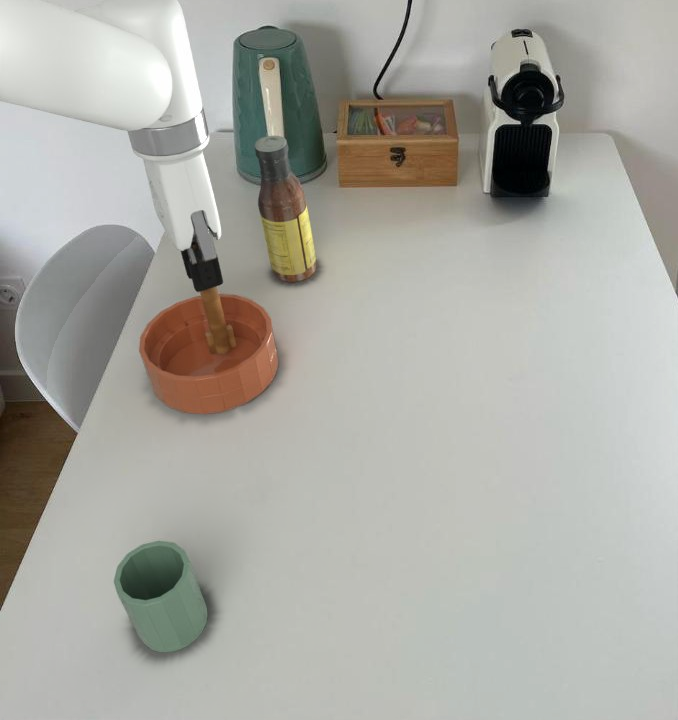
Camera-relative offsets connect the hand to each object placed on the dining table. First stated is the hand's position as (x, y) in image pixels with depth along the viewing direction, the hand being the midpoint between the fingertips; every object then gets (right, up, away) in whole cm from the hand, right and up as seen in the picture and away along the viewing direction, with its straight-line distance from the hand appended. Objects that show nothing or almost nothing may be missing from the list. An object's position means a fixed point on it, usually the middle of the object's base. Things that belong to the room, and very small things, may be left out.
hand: (205, 279), depth 91 cm
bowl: (0, -10, +7) cm, 13 cm away
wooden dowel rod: (0, -8, +7) cm, 11 cm away
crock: (+1, -33, -17) cm, 37 cm away
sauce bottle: (+7, +3, +22) cm, 23 cm away
